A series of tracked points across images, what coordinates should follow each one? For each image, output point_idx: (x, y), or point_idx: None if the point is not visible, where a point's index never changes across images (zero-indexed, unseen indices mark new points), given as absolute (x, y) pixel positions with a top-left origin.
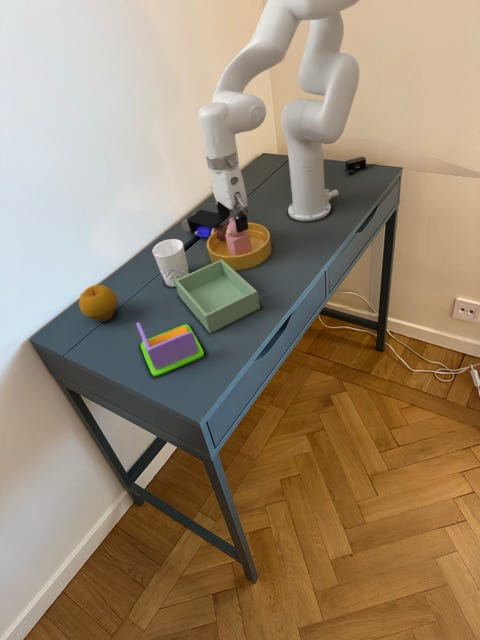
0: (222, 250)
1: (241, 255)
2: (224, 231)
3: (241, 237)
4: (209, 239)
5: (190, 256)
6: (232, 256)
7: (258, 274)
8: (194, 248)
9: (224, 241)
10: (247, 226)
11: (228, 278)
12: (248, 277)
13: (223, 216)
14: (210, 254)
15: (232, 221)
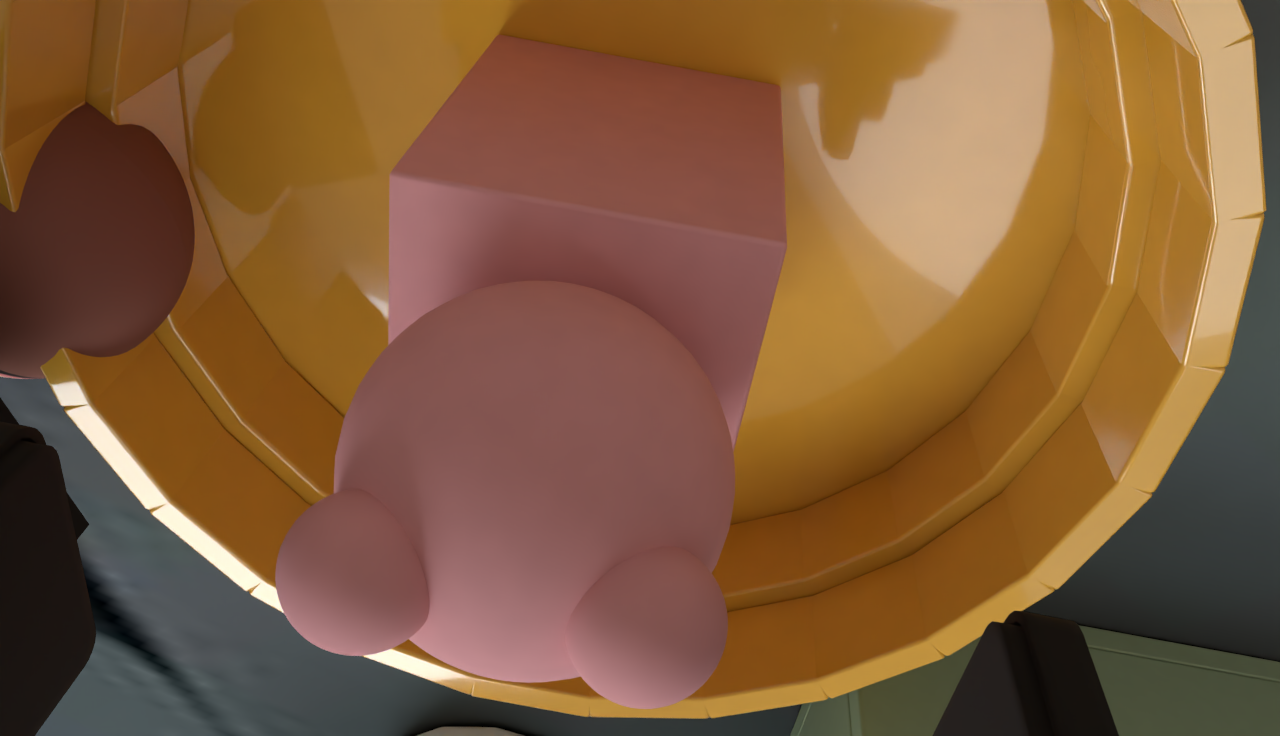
0: (378, 323)
1: (1034, 587)
2: (105, 243)
3: (740, 412)
4: (229, 557)
5: (201, 561)
6: (919, 655)
7: (1243, 381)
8: (59, 453)
9: (186, 177)
10: (1085, 682)
11: None
12: None
13: (61, 619)
14: None
15: (461, 647)
